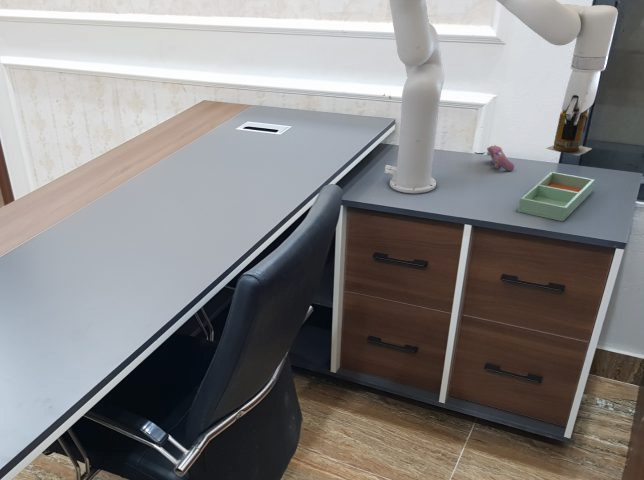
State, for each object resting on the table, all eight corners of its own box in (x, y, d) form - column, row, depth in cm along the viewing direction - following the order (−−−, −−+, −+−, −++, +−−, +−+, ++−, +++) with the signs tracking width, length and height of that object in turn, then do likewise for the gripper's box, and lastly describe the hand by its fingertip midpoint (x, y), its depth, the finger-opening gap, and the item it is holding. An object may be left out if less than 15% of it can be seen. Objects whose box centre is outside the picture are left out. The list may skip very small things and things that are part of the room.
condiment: (560, 142, 189) (570, 95, 182) (592, 149, 183) (604, 101, 176) (545, 149, 185) (555, 102, 179) (577, 157, 180) (588, 108, 173)
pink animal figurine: (489, 164, 216) (482, 145, 213) (504, 157, 215) (497, 137, 212) (500, 177, 208) (492, 157, 205) (516, 169, 207) (508, 149, 203)
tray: (517, 211, 185) (520, 198, 183) (548, 183, 198) (551, 171, 196) (563, 221, 179) (566, 208, 177) (591, 192, 192) (595, 179, 190)
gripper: (584, 52, 180) (569, 124, 190) (559, 68, 170) (544, 143, 180) (617, 55, 175) (599, 128, 185) (593, 72, 165) (576, 148, 175)
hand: (572, 135), depth 182 cm, fingers closed on condiment, 6 cm apart
